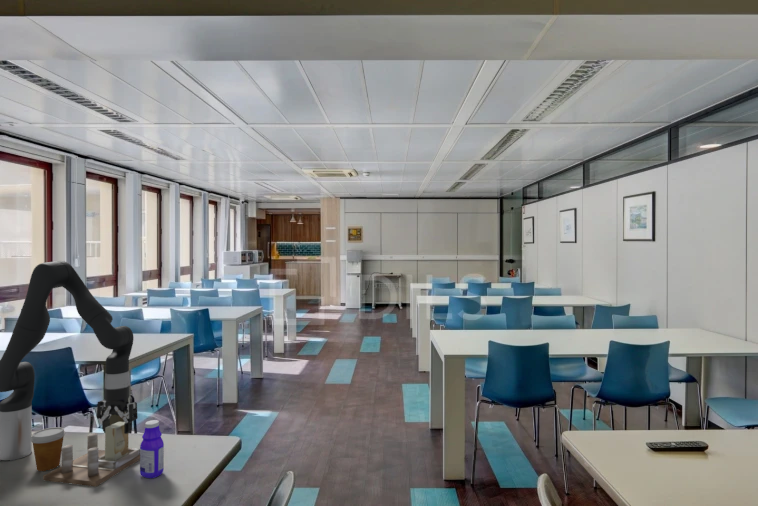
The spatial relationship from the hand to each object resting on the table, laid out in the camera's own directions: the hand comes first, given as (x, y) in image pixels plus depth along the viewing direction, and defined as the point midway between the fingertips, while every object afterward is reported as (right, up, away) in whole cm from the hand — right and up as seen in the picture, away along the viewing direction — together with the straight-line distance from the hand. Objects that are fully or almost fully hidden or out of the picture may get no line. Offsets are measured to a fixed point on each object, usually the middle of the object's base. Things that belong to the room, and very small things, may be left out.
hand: (117, 431), depth 154 cm
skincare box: (0, -10, 0) cm, 10 cm away
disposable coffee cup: (-23, -12, -2) cm, 25 cm away
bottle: (+16, -11, -8) cm, 21 cm away
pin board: (-5, -11, -3) cm, 13 cm away
